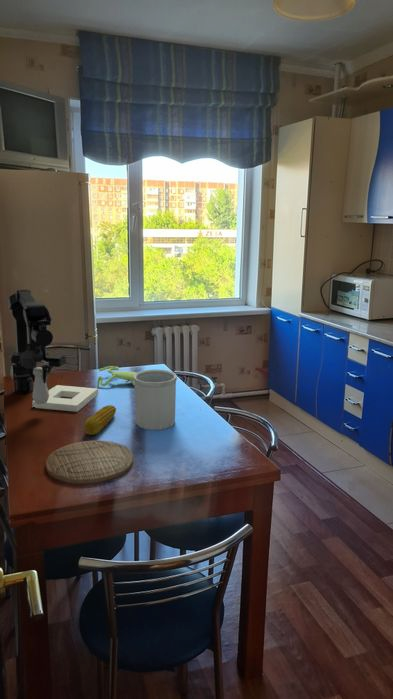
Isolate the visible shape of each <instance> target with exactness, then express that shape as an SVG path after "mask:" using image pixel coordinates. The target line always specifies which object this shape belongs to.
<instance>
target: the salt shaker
mask: <svg viewBox="0 0 393 699" xmlns="http://www.w3.org/2000/svg"><path fill="white" fill-rule="evenodd" d="M33 374H34V375H35V381H34V382H33V390H32V399H33V401H35V403H36V404H45V403H46V402H47V401H48V398H49V392H48V391H49V388H48V385H47V382H46V383H44V380H43V369H42V366H36V368H34V369H33Z"/></svg>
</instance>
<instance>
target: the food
mask: <svg viewBox="0 0 393 699" xmlns="http://www.w3.org/2000/svg"><path fill="white" fill-rule="evenodd" d="M116 411H117V408H116V407H115V406H114V405H112V404H111V405H109V404H107V405H105V406H103V407H102V408H100V409H99V410H97V411H96V412H94V413H93V414H92V415H91V416H89V417H88V418H86V420H85V422H84V424H83V425H84V426H83V427H84V429H83V430H84V432H85V434H87V435H89V436H93V435H97V434H98V433H100V432H101V430H103V429H104V427H105V426H107V424H109V422H110V421H111V420H112V419H113V418H114V416H115V415H116Z"/></svg>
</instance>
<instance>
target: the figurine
mask: <svg viewBox="0 0 393 699" xmlns="http://www.w3.org/2000/svg"><path fill="white" fill-rule="evenodd" d="M106 370H107V373H108V374H111V376H110V378H108V379H107V380H106V381H105V382H103V381H104V378H103V376H102V375H101V376H99V377H98V378H97V382H96V383H97V384H96V388H97V389H99V388H100V386H101V387H106V386H107V385H108V384H110V382H112V381H113V380H114V379H115V378H117V379H120V380H124V381H125V383H129V382H131V384H132V385H133V386H134V375H135V374H136V373H137V372H136V371H135V372H134V371H127V370H126V371H125V370H123V371H122V370H121V371H118V370H120V368H119V366H116V365H110V366H105V367H102V368H99V369H98V371H99V372H103V371H106Z"/></svg>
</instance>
